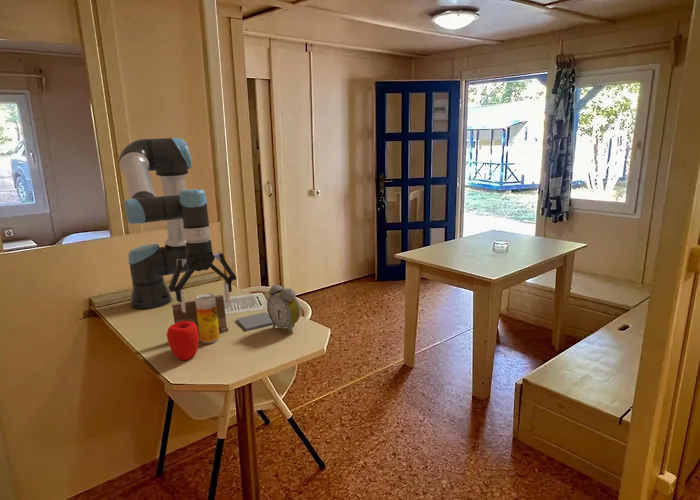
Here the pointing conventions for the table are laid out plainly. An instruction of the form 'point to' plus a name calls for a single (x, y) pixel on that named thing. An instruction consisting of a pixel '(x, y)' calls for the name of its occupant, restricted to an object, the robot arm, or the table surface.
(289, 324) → the alarm clock
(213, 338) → the yellow pill bottle
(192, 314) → the screen
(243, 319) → the coaster
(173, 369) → the table surface
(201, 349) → the table surface
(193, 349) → the apple
